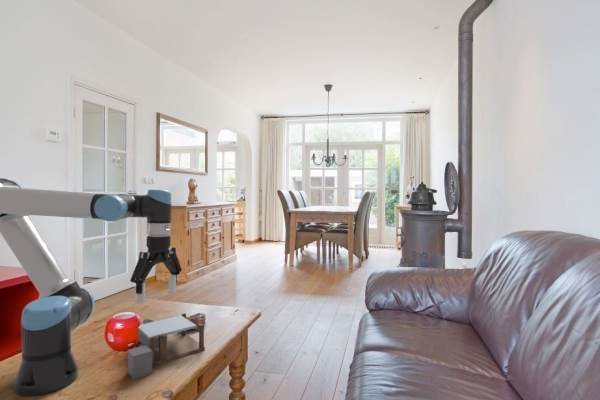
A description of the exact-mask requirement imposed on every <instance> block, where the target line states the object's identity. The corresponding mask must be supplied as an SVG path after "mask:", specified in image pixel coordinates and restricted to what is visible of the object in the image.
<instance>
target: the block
mask: <svg viewBox="0 0 600 400" xmlns="http://www.w3.org/2000/svg"><path fill="white" fill-rule="evenodd" d="M127 374H128V375H129V376H130V377H131V379H132V380H137V379H139V378H140V379H141V378H142V377H145V376H149V375H151V374H153V366H152V350H151V349H150V348H149V347H148V346H147V345H145V346H141V347H137V348H134V347H133V348H130V349H127Z"/></svg>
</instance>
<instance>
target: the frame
mask: <svg viewBox="0 0 600 400" xmlns="http://www.w3.org/2000/svg"><path fill="white" fill-rule="evenodd" d="M181 316H183V317H184V318H186V317H187V313H186V312H183V313H181ZM150 322H151V321H147V320H145V321H144V324H146V323H150ZM167 336H168V335H167V334H166V333H164V334H160V335H159V348H157V349H155V337H154V336H152V337H149V348H150V349H151V350H152V367H153V366H156V365H160V364H163V363H166V362H169V361H173V360H176V359H179V358H182V357H186V356H189V355H192V354H193V355H194V354H196V353H199V352H203V351H205V349H206V348H205V347H206V346H205V345H204V344H205V324H200V325H199V329H198V340H196V339H194V338H193V337H192V336H190V335H189V334H187V330H185V331H181V334H179V335H175V336H171V337H167ZM140 343H141V342H140V341H139V342H138V343H137V344H136V346H135V345H134V346H133V348H137V347H141V346H144V345H143V344H140Z"/></svg>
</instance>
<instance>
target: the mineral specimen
mask: <svg viewBox="0 0 600 400" xmlns="http://www.w3.org/2000/svg"><path fill="white" fill-rule="evenodd" d="M186 319H187V320H189V321H191V322H192V323H194V324H195V325H196V328H193V329H192V330H195V331H199V325H200V324H204V325H206V320H207V319H206V314H205V313H201V312H198V313H195V314H192V315H190V316H186Z"/></svg>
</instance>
